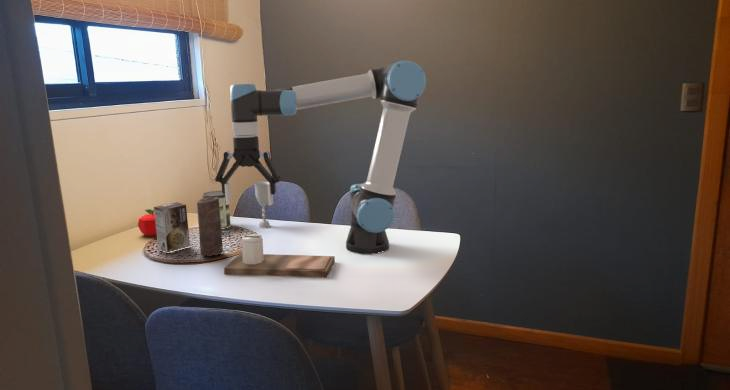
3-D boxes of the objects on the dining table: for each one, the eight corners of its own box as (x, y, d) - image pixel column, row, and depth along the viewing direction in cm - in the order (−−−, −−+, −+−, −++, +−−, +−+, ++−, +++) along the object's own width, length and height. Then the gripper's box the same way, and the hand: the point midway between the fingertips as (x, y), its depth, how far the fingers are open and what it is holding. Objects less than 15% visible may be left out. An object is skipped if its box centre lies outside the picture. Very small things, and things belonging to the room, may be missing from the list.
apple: (174, 231, 210) (172, 206, 208) (157, 238, 200) (155, 213, 198) (151, 229, 212) (148, 205, 210) (133, 237, 202) (131, 211, 200)
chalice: (255, 225, 217) (252, 182, 214) (271, 223, 219) (269, 181, 216) (257, 229, 211) (254, 185, 207) (274, 228, 213) (271, 184, 209)
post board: (334, 262, 172) (334, 237, 170) (326, 277, 159) (326, 250, 157) (240, 259, 176) (238, 235, 174) (224, 274, 162) (222, 248, 160)
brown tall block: (216, 259, 176) (212, 201, 171) (196, 258, 177) (191, 200, 173) (227, 252, 183) (223, 196, 179) (207, 251, 184) (203, 195, 180)
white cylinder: (265, 258, 170) (264, 233, 169) (259, 264, 164) (258, 239, 163) (247, 257, 171) (245, 233, 169) (241, 264, 165) (239, 238, 163)
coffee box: (180, 244, 192) (176, 201, 189) (190, 248, 188) (187, 204, 185) (157, 251, 185) (153, 206, 182) (167, 254, 181) (163, 209, 178)
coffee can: (218, 222, 222) (216, 189, 219) (236, 225, 217) (234, 192, 214) (199, 228, 214) (196, 194, 211) (217, 231, 208) (214, 197, 205)
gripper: (289, 134, 162) (291, 202, 166) (211, 134, 165) (215, 200, 169) (282, 137, 154) (285, 207, 159) (201, 137, 157) (206, 206, 162)
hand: (249, 204), depth 164 cm, fingers open, 13 cm apart
